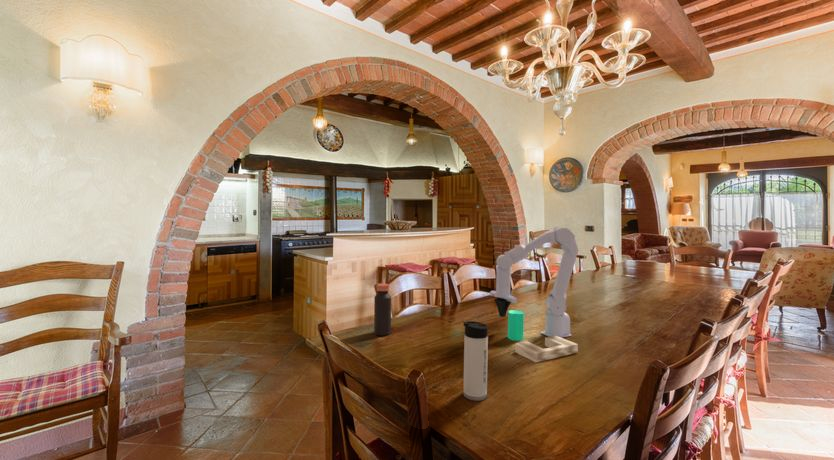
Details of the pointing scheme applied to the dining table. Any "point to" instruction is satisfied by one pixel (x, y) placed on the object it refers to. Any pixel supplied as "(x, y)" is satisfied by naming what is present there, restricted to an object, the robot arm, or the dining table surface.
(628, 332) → the dining table surface
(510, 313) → the green prism block
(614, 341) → the dining table surface
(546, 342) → the cream flat frame
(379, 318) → the bottle
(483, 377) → the travel mug
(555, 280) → the robot arm
